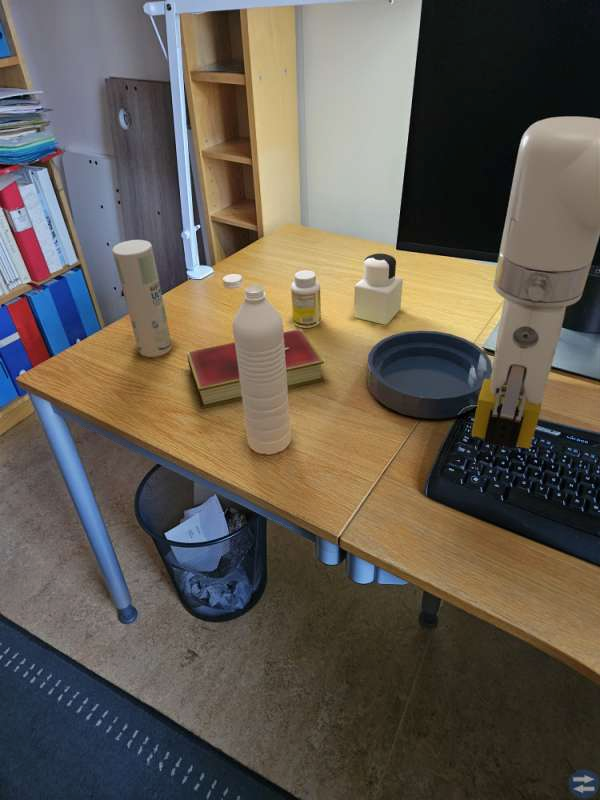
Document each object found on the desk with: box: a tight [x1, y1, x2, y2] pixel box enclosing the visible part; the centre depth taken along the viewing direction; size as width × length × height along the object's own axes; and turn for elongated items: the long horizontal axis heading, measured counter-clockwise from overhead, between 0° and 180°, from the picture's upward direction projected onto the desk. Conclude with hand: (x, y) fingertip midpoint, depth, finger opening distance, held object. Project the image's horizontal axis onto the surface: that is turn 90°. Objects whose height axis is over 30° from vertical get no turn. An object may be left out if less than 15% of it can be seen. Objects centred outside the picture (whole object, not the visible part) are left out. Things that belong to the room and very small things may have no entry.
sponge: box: [471, 379, 543, 450], centre depth 59 cm, size 6×4×5 cm, turn 67°
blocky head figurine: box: [353, 253, 404, 326], centre depth 109 cm, size 7×7×12 cm
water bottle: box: [222, 273, 292, 455], centre depth 76 cm, size 9×6×25 cm
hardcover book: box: [186, 328, 325, 409], centre depth 96 cm, size 12×21×4 cm, turn 109°
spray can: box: [111, 239, 173, 358], centre depth 99 cm, size 6×6×20 cm
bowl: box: [366, 330, 493, 420], centre depth 92 cm, size 20×20×4 cm
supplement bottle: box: [290, 269, 322, 329], centre depth 108 cm, size 6×6×10 cm
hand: (503, 428), depth 61 cm, fingers closed on sponge, 4 cm apart
